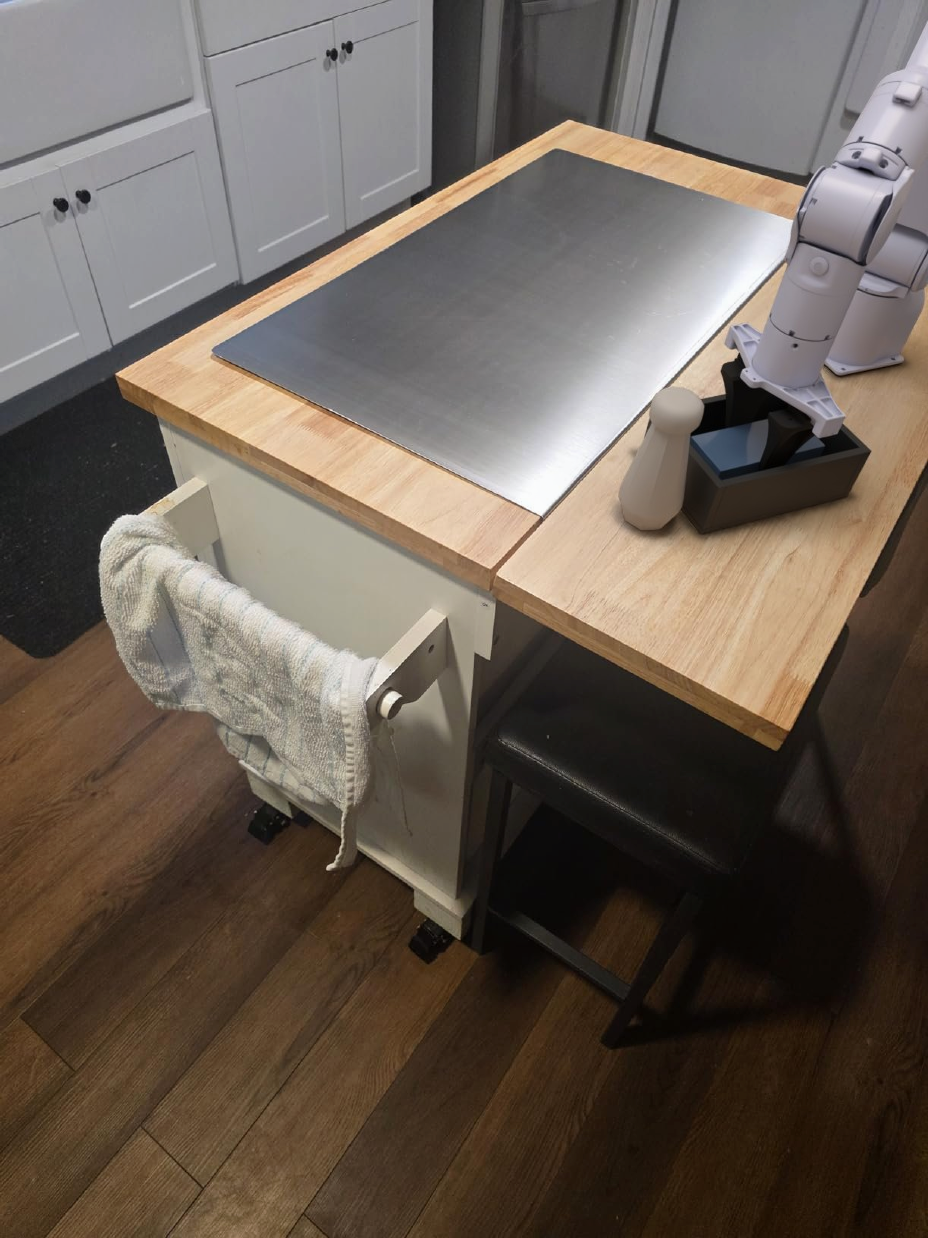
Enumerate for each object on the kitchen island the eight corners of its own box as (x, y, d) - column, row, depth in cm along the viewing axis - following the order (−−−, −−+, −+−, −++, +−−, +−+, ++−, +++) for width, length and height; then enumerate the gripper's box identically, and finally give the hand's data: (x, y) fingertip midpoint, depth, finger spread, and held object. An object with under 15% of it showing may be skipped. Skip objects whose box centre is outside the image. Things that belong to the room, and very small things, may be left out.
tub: (777, 424, 91) (796, 378, 86) (847, 496, 84) (872, 450, 80) (638, 455, 86) (651, 408, 82) (700, 534, 79) (718, 487, 75)
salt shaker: (685, 510, 81) (727, 392, 71) (662, 546, 78) (702, 428, 68) (628, 486, 83) (661, 367, 73) (603, 520, 79) (633, 401, 69)
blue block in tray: (682, 461, 84) (690, 436, 81) (782, 437, 87) (793, 412, 85) (711, 495, 81) (720, 471, 78) (814, 470, 84) (825, 445, 82)
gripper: (715, 284, 75) (676, 414, 86) (817, 379, 67) (760, 510, 77) (782, 273, 77) (736, 401, 88) (890, 365, 69) (824, 494, 79)
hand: (751, 451), depth 83 cm, fingers closed on blue block in tray, 5 cm apart
